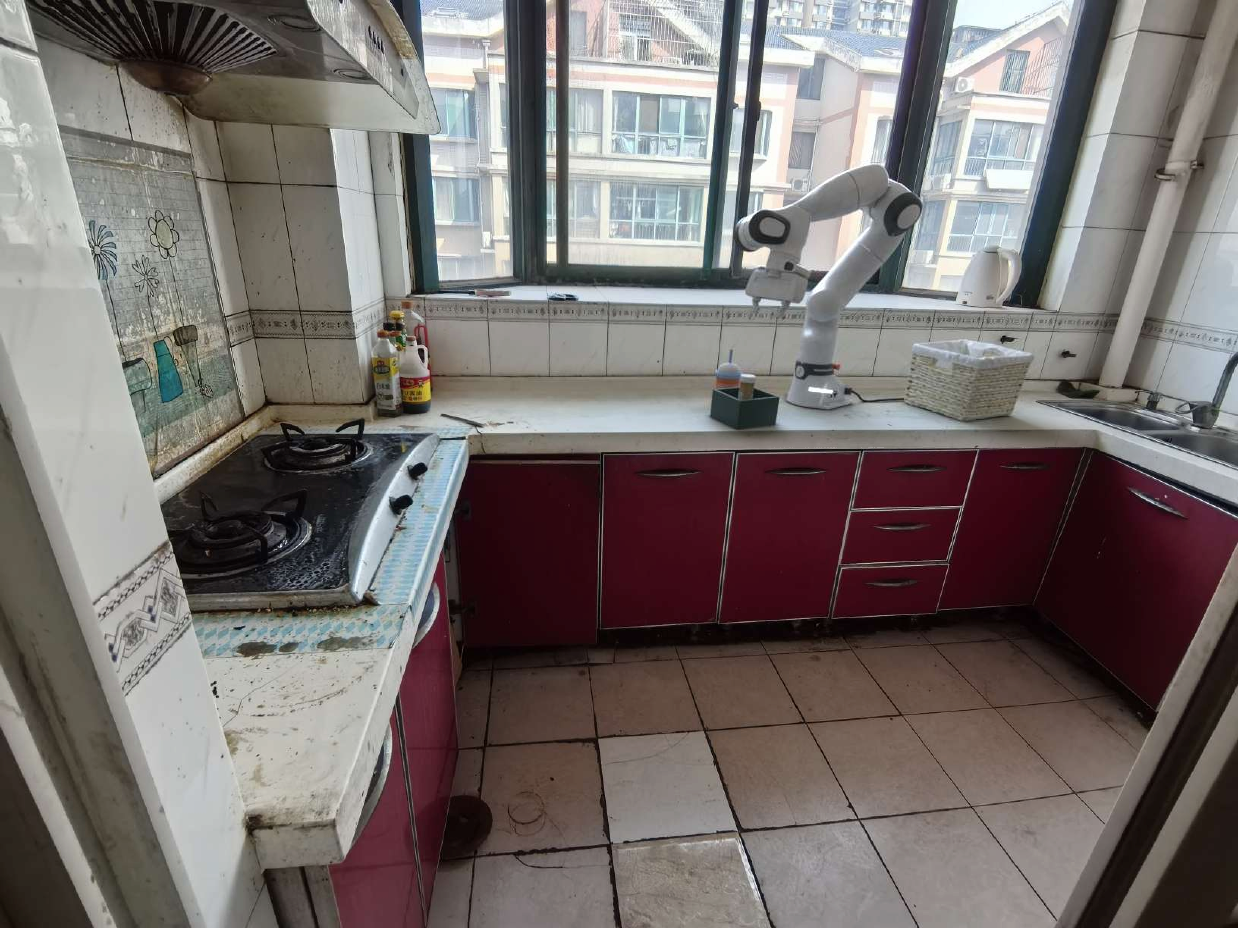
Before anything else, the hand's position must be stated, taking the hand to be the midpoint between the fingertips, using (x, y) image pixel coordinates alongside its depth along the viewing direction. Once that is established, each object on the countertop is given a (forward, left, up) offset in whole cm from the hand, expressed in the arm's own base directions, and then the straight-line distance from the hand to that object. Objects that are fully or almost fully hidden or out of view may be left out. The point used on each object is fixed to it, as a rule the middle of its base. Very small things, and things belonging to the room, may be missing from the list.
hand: (766, 315), depth 171 cm
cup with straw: (-2, -17, -32) cm, 36 cm away
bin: (+4, 0, -31) cm, 32 cm away
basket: (-76, +15, -32) cm, 84 cm away
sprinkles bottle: (+4, 0, -31) cm, 31 cm away
